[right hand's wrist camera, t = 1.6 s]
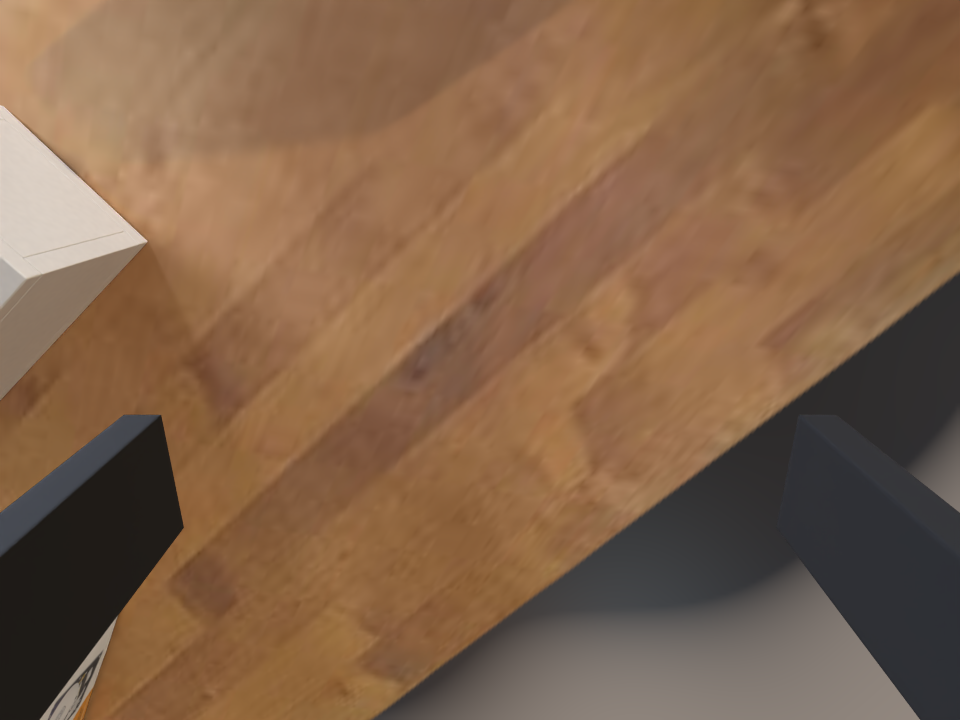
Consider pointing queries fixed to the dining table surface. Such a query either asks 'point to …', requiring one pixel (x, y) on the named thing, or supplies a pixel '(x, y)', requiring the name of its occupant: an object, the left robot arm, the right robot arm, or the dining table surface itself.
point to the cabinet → (49, 248)
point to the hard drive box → (80, 684)
